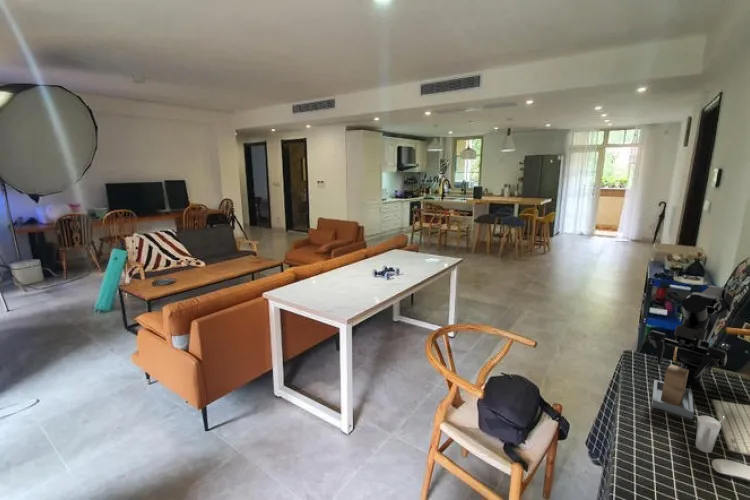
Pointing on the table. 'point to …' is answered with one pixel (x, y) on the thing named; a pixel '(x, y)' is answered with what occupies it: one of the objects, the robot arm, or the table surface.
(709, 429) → the milkshake
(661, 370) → the table surface
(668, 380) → the block
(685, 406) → the tray
